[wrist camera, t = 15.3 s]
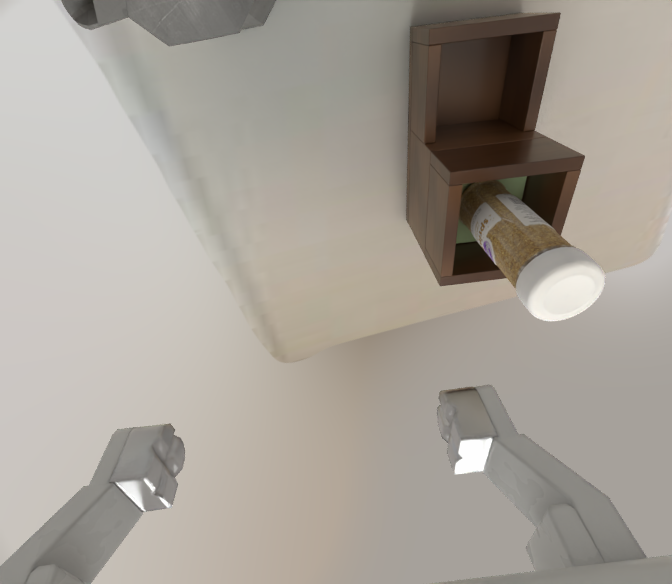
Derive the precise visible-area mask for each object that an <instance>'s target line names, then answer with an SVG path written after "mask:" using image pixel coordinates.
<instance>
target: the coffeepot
mask: <svg viewBox="0 0 672 584" xmlns="http://www.w3.org/2000/svg"><path fill="white" fill-rule="evenodd" d="M275 1H276V0H62V3H63V5H64V7H65V8H66V10H67V12H68V13H69V14H70V16H71V17H72V18H73V19H74V20H75V21H76V22H77V23H78V24H79V25H80V26H81V27H84V28H86V29H90V30H92V29H95V28H98V27H101V26H104V25H107V24H110V23H113V22H116V21H119V20H122V19H125V18H128V17H129V18H130V19H132V20H133V21H134V22H136V23H137V24H139V25H140V26H141V27H143V28H144V29H146V30H147V31H148V32H150V33H151V34H153V35H154V36H155V37H157V38H158V39H160V40H161V41H162V42H164V43H165V44H167V45H168V46H174V45H179V44H186V43H191V42H196V41H201V40H207V39H212V38H217V37H222V36H226V35H231V34H236V33H240V31H241V30H242V29H247V28H252V27H257V26H262V25H264V23H265V21H266V19H267V17H268V15H269V13H270V11H271V9H272V7H273V5H274V3H275Z"/></svg>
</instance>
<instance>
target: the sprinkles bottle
mask: <svg viewBox="0 0 672 584" xmlns="http://www.w3.org/2000/svg"><path fill="white" fill-rule="evenodd" d="M459 219H460V221H461V222H462V223H463V224H464V225H466V226H467V227H468V229H469V230H470V231H471V233H472V234H473V236H474V238H475V239H476V240H477V242H478V243H479V244H480V246H481V247H482V248H483V249H484V251H485V252H486V253H487V255H488V256H489V257H490V258H491V260H492V261H493V262H494V263H495V265H497V266H498V267H499V268H500V270H501V271H502V272H503V273H504V275H505V276H506V277H507V278H508V280H509V281H510V282H511V284H512V285H513V286H514V288H515V289H516V293H517V296H518V298H519V299H520V300H521V302H522V303H523V304H524V306H525V307H526V308H527V309H528V310H529V312H530V313H531V314H532V315H533V316H535V317H536V318H538V319H541V320H545V321H559V320H563V319H567V318H570V317H573V316H575V315H577V314H579V313H581V312H583V311H584V310H585V309H587V308H588V307H589V306H591V305H592V304H593V303H594V302H595V301H596V300H597V298H598V297H599V296H600V294H601V293H602V291H603V288H604V286H605V279H606V278H605V273H604V271H603V269H602V268H601V267H600V265H599V264H597V263H596V262H595V261H594V260H593V259H592V258H591V257H590V256H589V255H587V254H586V253H585V252H584V251H582V250H580V249H578V248H576V247H574V246H572V245H570V244H569V243H568V242H567V241H566V240H565V239H563V238H562V237H561V236H560V235H559V234H558V233H557V232H556V231H555V229H554V228H553V227H551V226H550V225H549V224H548V223H547V222H545V221H544V220H543V219H542V218H541V217H539V216H538V215H537V214H536V213H535V212H534V211H533V210H531V209H530V208H529V207H528V206H527V205H526V204H524V203H523V202H522V201H521V200H520V199H519V198H517V197H516V196H513V195H512V194H511V193H510V192H508V191H507V189H506V188H505V186H504V185H503V184H502V183H501V182H499V181H496V180H491V181H483V182H475V183H473V184H472V185H471V186H469V187H468V188H467V189H466V190H465V191H464V193H463V194H462V195H461V204H460V212H459Z"/></svg>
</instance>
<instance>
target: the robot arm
mask: <svg viewBox="0 0 672 584" xmlns="http://www.w3.org/2000/svg"><path fill="white" fill-rule="evenodd" d="M439 401H440V404H441V405H439V407H438V408H437V409H438V410H437V418H438V425H439V429H440V433H441V435H442V438H443V439H444V440H445V441H446V442H447V443H448V448H447V454H448V457H449V460H450V463H451V466H452V469H453V471H454V474H461V473H473V472H483V473H484V474H485V475H486V476H487V477H488V478H489V479H490V480H491V481H492V482H493V484H495V486H496V487H497V488H498V489H499V490H500V491H501V492H502V493H503V494H504V495H505V496H506V497H507V498H508V499H509V500H510V501H511V502H512V503H513V504H514V505H515V506H516V507H517V508H518V509H519V510H520V511H521V512H522V513H523V514H524V515H525V516H526V517H527V518H528V519H529V520H530V521H531V522H532V523H533V524H534V525H535V526H536V527H537V529H536V530H535V532H534V534H533V536H532V537H531V539H530V541H529V542H528V544H527V546H526V549H527V552H528V554H529V557H530V559H531V562H532V564H533V567H534V569H535V571H532V572H524V573H516V574H507V575H499V576H491V577H482V578H473V579H466V580H457V581H448V582H439V583H431V584H672V555H669V556H660V557H652V558H647V557H646V555H645V554H644V552H643V551H642V549H641V548H640V546H639V544H638V543H637V541H636V540H635V538H634V537H633V535H632V533H631V532H630V530H629V528H628V527H627V525H626V524H625V522H624V521H623V519H622V517H621V516H620V514H619V513H618V511H617V510H616V508H615V506H614V505H613V503H612V502H611V500H610V498H609V497H608V496H606V495H605V494H604V493H602V492H601V491H600V490H598V489H597V488H596V487H594V486H593V485H591V484H590V483H589V482H587V481H586V480H585V479H583V478H582V477H581V476H579V475H578V474H577V473H575V472H574V471H573V470H571V469H570V468H569V467H567V466H566V465H565V464H563V463H562V462H561V461H559V460H558V459H557V458H555V457H554V456H552V455H551V454H550V453H548V452H547V451H545V450H544V449H543V448H542V447H540V446H539V445H538V444H536V443H535V442H534V441H532V440H531V439H530V438H528V437H527V436H526V435H524V434H520V435H519V434H518V433H517V431H516V429H515V427H514V425H513V423H512V421H511V419H510V417H509V415H508V413H507V412H506V409H505V408H504V406H503V404H502V402H501V400H500V398H499V396H498V394H497V392H496V390H495V388H494V387H493V386H491V385H484V386H477V387H465V388H458V389H451V390H444V391H440V393H439ZM174 431H175V429H174V428H173V426H172V425H171V424H164V425H154V426H144V427H133V428H125V429H117V431H116V432H115V433H114V434H113V435H112V437H111V439H110V441H109V444H108V446H107V448H106V450H105V452H104V454H103V456H102V458H101V461H100V463H99V465H98V467H97V469H96V471H95V474H94V476H93V478H92V480H91V482H90V484H89V486H84V487H83V488H82V489H81V490H80V491H78V492H77V493H76V494H75V495H74V496H73V497H72V498H71V499H70V500H69V501H68V502H67V503H66V504H65V505H64V506H63V507H62V508H61V509H60V510H59V511H58V512H57V513H56V514H55V515H54V516H52V517H51V518H50V519H49V520H48V521H47V522H46V523H45V524H44V525H43V526H42V527H41V528H40V529H39V530H38V531H37V532H36V533H35V534H34V535H33V536H32V537H31V538H29V539H28V540H27V541H26V542H25V543H24V544H23V545H22V546H21V547H20V548H19V549H18V550H17V551H16V552H15V553H14V554H13V555H12V556H11V557H10V558H9V559H8V560H7V561H5V562H4V563H3V564H2V565H1V566H0V584H91V582H92V581H93V580H94V578H95V577H96V576H97V574H98V573H99V572H100V570H101V569H102V568H103V567H104V565H105V564H106V563H107V561H108V560H109V559H110V557H111V556H112V554H113V553H114V552H115V550H116V549H117V548H118V547H119V545H120V544H121V542H122V541H123V540H124V538H125V537H126V536H127V534H128V533H129V532H130V530H131V529H132V528H133V527H134V525H135V524H136V522H137V521H138V520H139V518H140V517H141V516H142V515H143V513H142V512H146V511H153V510H159V509H166V508H171V507H172V505H173V501H174V497H175V493H176V490H177V486H178V483H177V481H176V479H175V477H176V475H177V474H178V473H179V472H180V471H181V470H182V468H183V464H184V459H185V448H184V444H183V442H182V440H181V438H179V437H177V436H175V435H174Z"/></svg>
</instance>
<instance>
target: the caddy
mask: <svg viewBox="0 0 672 584" xmlns="http://www.w3.org/2000/svg"><path fill="white" fill-rule="evenodd" d="M560 14H561V13H517V14H509V15H501V16H493V17H485V18H477V19H469V20H461V21H453V22H445V23H437V24H429V25H421V26H413V27H410V62H409V111H408V161H407V210H406V220H407V222H408V224H409V226H410V227H411V229H412V231H413V233H414V235H415V237H416V239H417V241H418V243H419V245H420V247H421V249H422V251H423V253H424V255H425V257H426V259H427V261H428V263H429V265H430V267H431V269H432V271H433V273H434V275H435V277H436V279H437V281H438V283H439V285H440V286H446V285H454V284H463V283H471V282H479V281H487V280H495V279H503V278H507V277H506V276H505V275H504V273H503V272H502V271H501V270H500V268H499V267H498V266H497V265H495V263H494V262H493V261H492V260H491V258H490V257H489V256H488V255H487V253H486V252H485V251H484V249H483V248H482V247H481V246H480V244H479V243H478V242H477V240H476V239H475V238H474V236H473V234H472V233H471V231H470V230H469V229H468V227H467V226H466V225H464V224H463V223H462V222H461V221H460V219H459V212H460V204H461V195H462V194H463V193H464V191H465V190H466V189H467V188H468V187H469V186H471V185H472V184H473V183H475V182H483V181H491V180H496V181H499V182H501V183H502V184H503V185H504V186H505V188H506V189H507V191H508V192H510V193H511V194H512V195H513V196H516V197H517V198H519V199H520V200H521V201H522V202H523V203H524V204H526V205H527V206H528V207H529V208H530V209H531V210H533V211H534V212H535V213H536V214H537V215H538V216H539V217H541V218H542V219H543V220H544V221H545V222H547V223H548V224H549V225H550V226H551V227H553V228H554V229H555V231H556V232H557V233H558V234H559V235H560V236H561V233H562V229H563V226H564V223H565V220H566V217H567V213H568V210H569V207H570V204H571V200H572V197H573V194H574V191H575V188H576V184H577V181H578V178H579V175H580V172H581V170H580V169H581V168H582V165H583V161H584V158H585V156H584V155H582V154H580V153H578V152H576V151H574V150H572V149H570V148H568V147H566V146H564V145H562V144H560V143H558V142H556V141H554V140H552V139H550V138H548V137H546V136H544V135H542V134H540V133H538V132H536V131H534V130H535V127H536V122H537V118H538V113H539V109H540V104H541V100H542V95H543V91H544V86H545V81H546V77H547V72H548V68H549V63H550V59H551V54H552V50H553V45H554V40H555V36H556V31H557V30H556V29H557V28H558V23H559V19H560Z"/></svg>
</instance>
